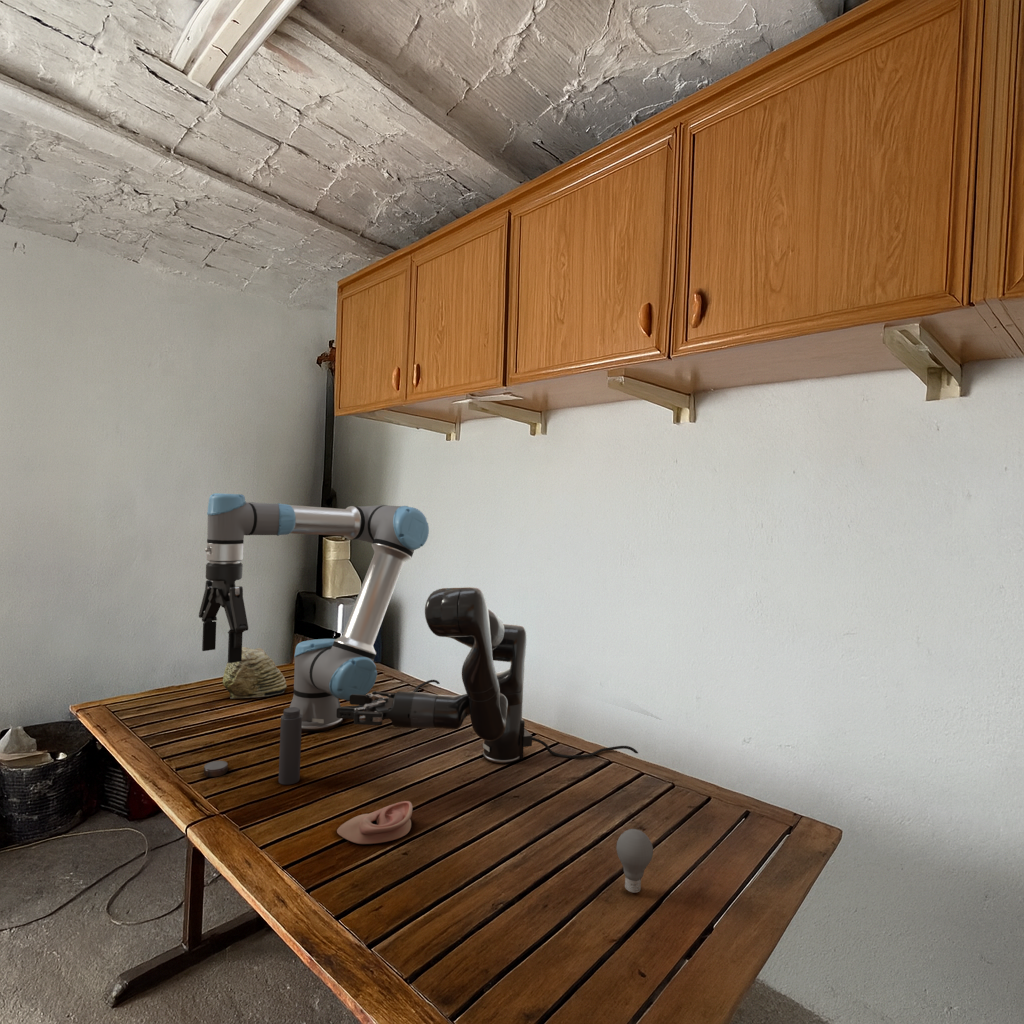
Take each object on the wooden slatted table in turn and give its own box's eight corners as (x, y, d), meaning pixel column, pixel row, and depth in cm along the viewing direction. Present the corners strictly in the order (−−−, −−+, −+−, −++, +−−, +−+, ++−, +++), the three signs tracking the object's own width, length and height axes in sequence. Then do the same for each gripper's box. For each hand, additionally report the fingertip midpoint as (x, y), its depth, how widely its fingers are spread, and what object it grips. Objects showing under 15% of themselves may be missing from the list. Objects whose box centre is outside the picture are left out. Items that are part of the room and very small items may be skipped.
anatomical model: (329, 818, 117) (357, 790, 128) (328, 839, 117) (356, 810, 128) (397, 828, 114) (419, 799, 126) (396, 850, 114) (418, 819, 126)
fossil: (218, 695, 195) (220, 647, 195) (278, 685, 208) (279, 640, 207) (228, 703, 189) (230, 653, 188) (289, 692, 201) (290, 645, 201)
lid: (229, 774, 142) (230, 766, 142) (205, 778, 140) (206, 771, 140) (225, 766, 146) (225, 759, 146) (201, 770, 144) (202, 763, 144)
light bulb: (610, 879, 108) (613, 822, 108) (644, 879, 109) (647, 822, 109) (619, 902, 102) (622, 840, 102) (655, 901, 103) (658, 840, 103)
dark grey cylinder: (276, 785, 138) (278, 713, 138) (281, 776, 143) (283, 706, 142) (297, 784, 139) (299, 713, 138) (301, 775, 143) (304, 706, 143)
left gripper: (185, 557, 148) (182, 647, 148) (232, 568, 131) (228, 670, 132) (218, 556, 154) (214, 643, 154) (267, 566, 137) (263, 664, 137)
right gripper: (423, 683, 146) (354, 679, 147) (409, 704, 131) (332, 699, 133) (422, 715, 146) (353, 710, 147) (407, 739, 132) (331, 734, 133)
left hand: (221, 656), depth 143 cm, fingers open, 13 cm apart
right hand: (343, 705), depth 140 cm, fingers open, 8 cm apart
